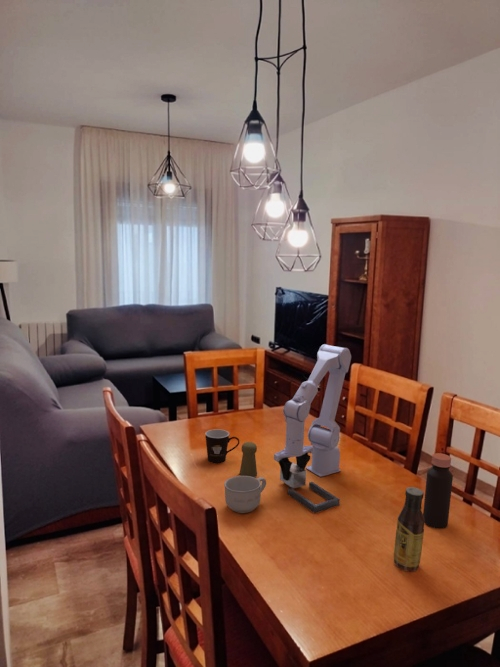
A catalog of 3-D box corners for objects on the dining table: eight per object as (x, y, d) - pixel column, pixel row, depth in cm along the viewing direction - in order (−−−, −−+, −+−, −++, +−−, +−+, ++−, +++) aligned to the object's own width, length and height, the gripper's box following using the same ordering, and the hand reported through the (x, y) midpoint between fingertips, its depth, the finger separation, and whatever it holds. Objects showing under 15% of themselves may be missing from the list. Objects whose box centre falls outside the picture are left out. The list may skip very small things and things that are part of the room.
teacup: (233, 520, 136) (234, 494, 135) (217, 503, 146) (218, 478, 145) (276, 510, 143) (277, 484, 141) (258, 493, 152) (259, 469, 151)
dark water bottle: (417, 521, 139) (423, 455, 136) (431, 514, 143) (437, 449, 140) (439, 532, 134) (446, 463, 131) (452, 524, 138) (459, 458, 135)
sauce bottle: (389, 557, 122) (395, 483, 119) (413, 557, 122) (420, 483, 119) (399, 574, 115) (406, 496, 112) (424, 574, 116) (432, 496, 113)
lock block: (291, 476, 162) (292, 461, 162) (305, 485, 156) (306, 470, 156) (279, 479, 160) (280, 464, 159) (293, 488, 154) (293, 473, 153)
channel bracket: (311, 487, 158) (311, 481, 157) (339, 505, 147) (339, 499, 146) (287, 494, 152) (288, 488, 152) (314, 513, 142) (315, 507, 141)
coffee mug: (200, 462, 174) (201, 435, 172) (211, 453, 182) (211, 427, 180) (230, 468, 170) (230, 441, 168) (239, 459, 177) (240, 433, 176)
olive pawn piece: (255, 479, 162) (256, 447, 160) (237, 476, 163) (238, 445, 162) (258, 471, 168) (259, 441, 166) (241, 469, 169) (242, 439, 167)
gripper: (304, 429, 163) (302, 468, 165) (268, 437, 155) (267, 477, 157) (318, 436, 157) (316, 476, 159) (282, 444, 149) (280, 486, 151)
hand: (292, 477), depth 158 cm, fingers closed on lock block, 5 cm apart
